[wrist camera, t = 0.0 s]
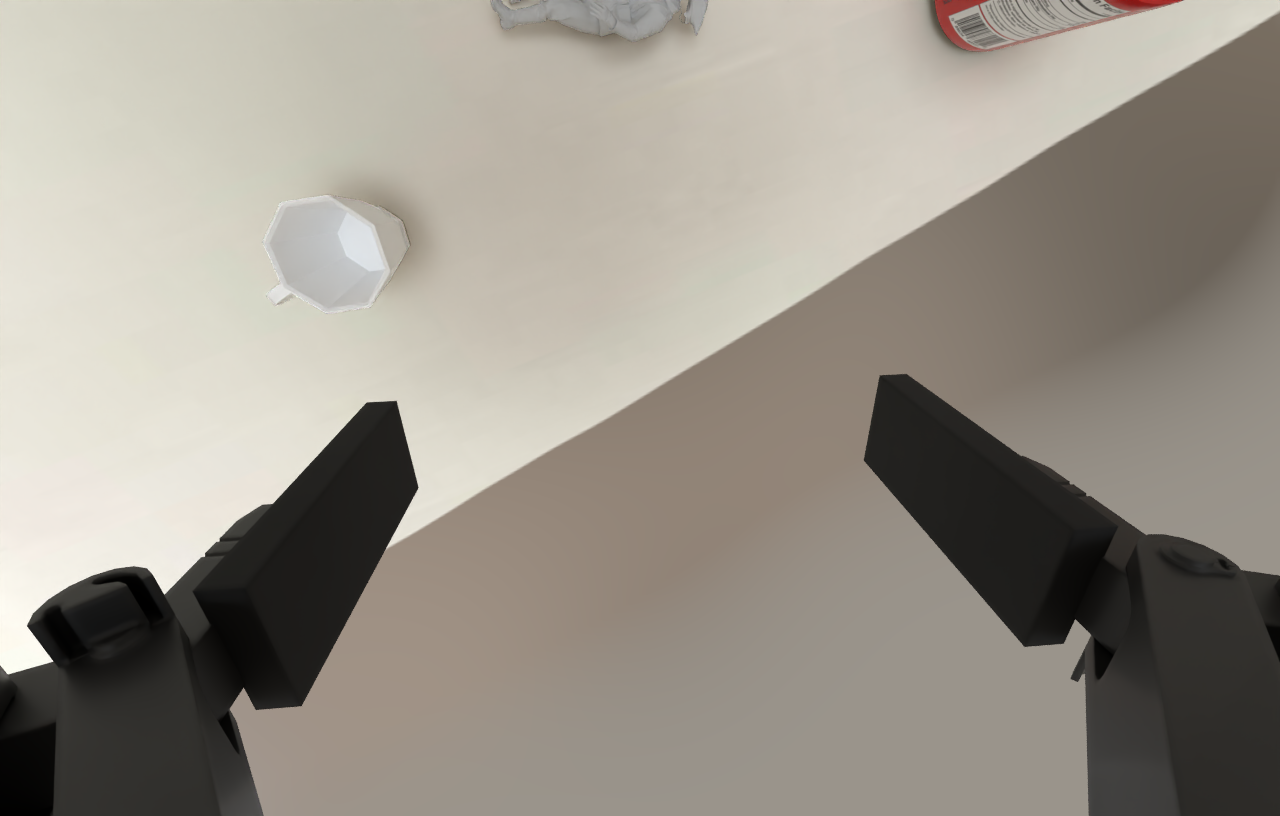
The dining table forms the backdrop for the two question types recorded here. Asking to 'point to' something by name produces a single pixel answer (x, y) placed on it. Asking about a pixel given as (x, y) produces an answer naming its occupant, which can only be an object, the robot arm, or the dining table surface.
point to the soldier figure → (604, 15)
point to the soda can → (1027, 19)
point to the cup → (333, 252)
